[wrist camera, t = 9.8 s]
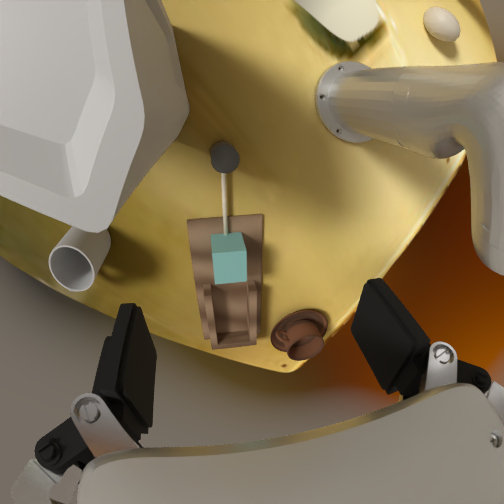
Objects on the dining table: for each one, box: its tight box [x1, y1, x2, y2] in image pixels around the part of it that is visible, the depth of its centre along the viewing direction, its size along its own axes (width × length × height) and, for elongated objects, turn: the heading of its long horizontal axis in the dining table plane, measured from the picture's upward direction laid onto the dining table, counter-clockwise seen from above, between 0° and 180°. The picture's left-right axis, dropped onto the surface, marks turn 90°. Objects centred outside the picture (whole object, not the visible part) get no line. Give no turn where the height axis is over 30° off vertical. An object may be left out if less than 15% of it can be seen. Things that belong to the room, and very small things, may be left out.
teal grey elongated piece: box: [210, 140, 247, 284], centre depth 36 cm, size 19×4×6 cm, turn 0°
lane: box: [187, 214, 263, 350], centre depth 45 cm, size 25×11×3 cm, turn 0°
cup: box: [49, 226, 111, 292], centre depth 34 cm, size 7×10×9 cm
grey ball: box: [423, 7, 460, 42], centre depth 23 cm, size 7×7×7 cm
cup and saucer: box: [271, 310, 328, 361], centre depth 52 cm, size 12×12×6 cm
